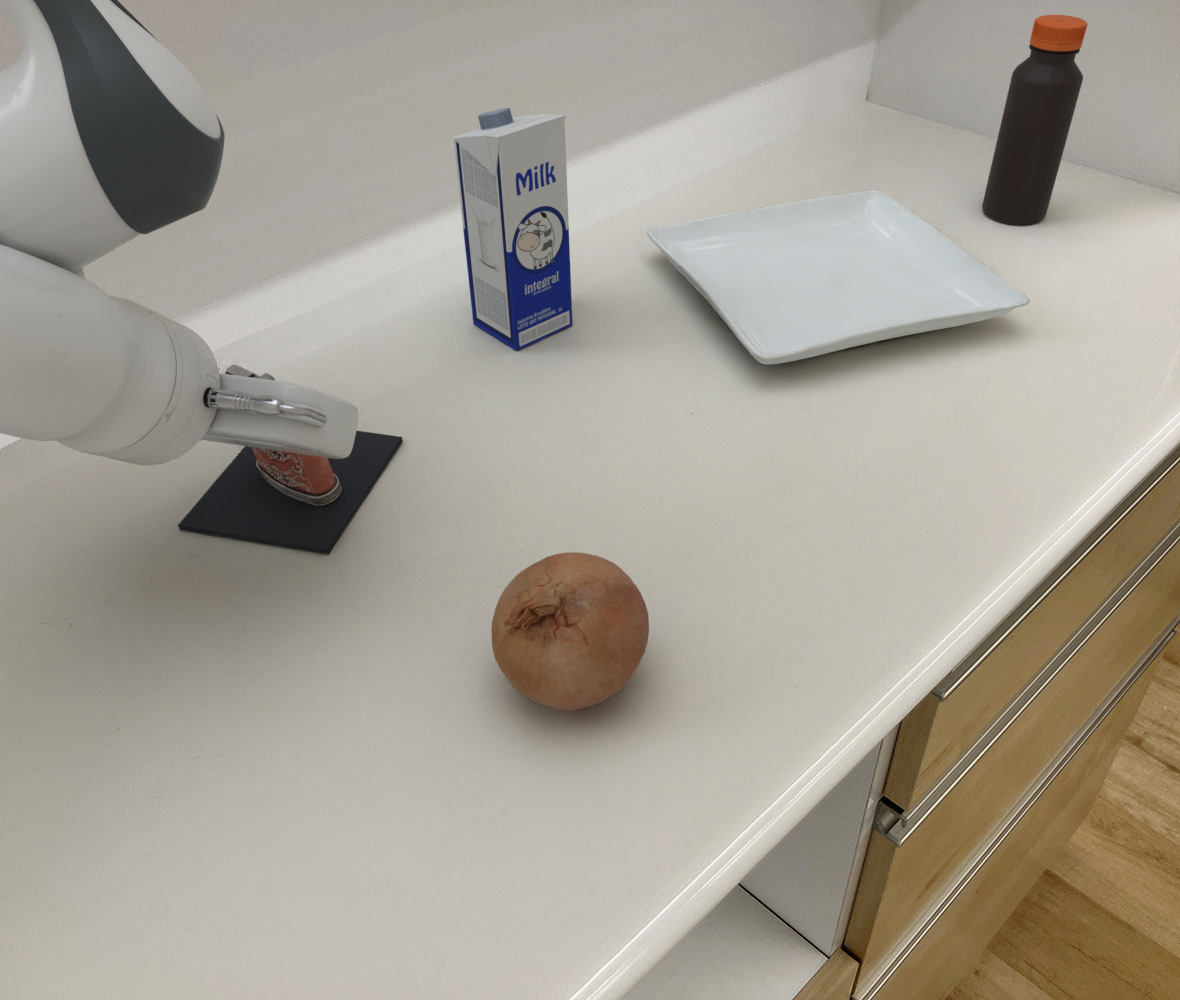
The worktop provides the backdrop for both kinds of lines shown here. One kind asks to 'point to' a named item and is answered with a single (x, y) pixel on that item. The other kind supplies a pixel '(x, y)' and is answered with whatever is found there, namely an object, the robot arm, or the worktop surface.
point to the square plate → (832, 274)
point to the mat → (289, 500)
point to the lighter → (294, 466)
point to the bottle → (1036, 123)
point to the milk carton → (516, 225)
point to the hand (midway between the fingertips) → (256, 428)
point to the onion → (570, 630)
